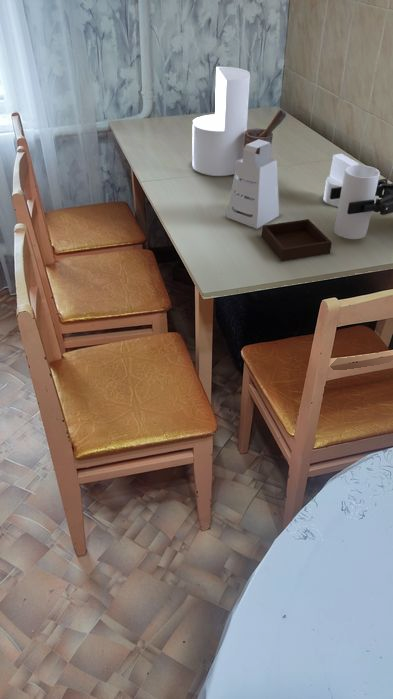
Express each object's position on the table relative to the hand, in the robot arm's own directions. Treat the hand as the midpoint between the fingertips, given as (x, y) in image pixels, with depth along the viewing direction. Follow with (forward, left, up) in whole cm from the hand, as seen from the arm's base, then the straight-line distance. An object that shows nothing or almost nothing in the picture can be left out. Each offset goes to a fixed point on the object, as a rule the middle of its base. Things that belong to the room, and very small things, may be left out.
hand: (339, 201), depth 134 cm
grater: (+24, -2, -11) cm, 26 cm away
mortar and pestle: (+34, -31, -11) cm, 47 cm away
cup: (-3, -3, -9) cm, 10 cm away
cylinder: (+49, -31, -11) cm, 59 cm away
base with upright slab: (+6, -24, -11) cm, 27 cm away
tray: (+8, +8, -11) cm, 15 cm away
